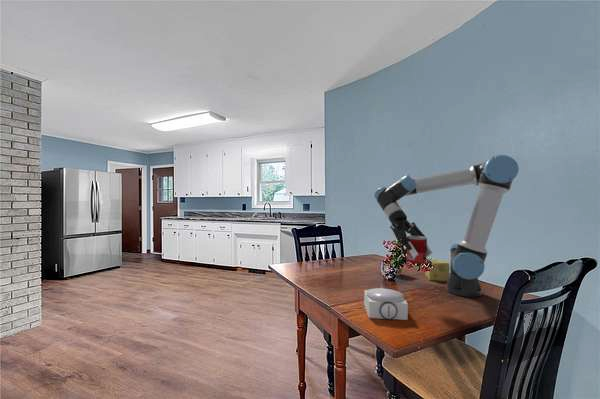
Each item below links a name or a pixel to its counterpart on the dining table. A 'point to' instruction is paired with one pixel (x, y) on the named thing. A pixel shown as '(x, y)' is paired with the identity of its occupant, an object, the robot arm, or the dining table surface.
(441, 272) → the cheese
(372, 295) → the kitchen scale
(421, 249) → the canned food
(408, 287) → the dining table surface
